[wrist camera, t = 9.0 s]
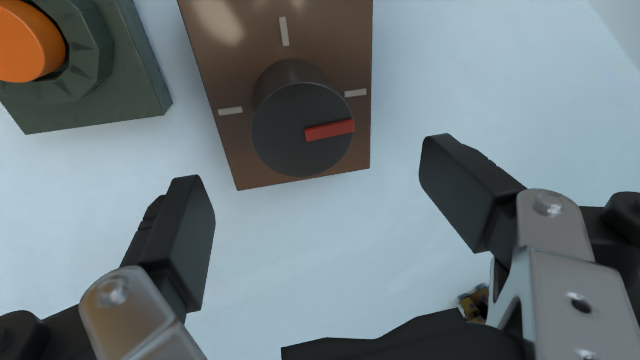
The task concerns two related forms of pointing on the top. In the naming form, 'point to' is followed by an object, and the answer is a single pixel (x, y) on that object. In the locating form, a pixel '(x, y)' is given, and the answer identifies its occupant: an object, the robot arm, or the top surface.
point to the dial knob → (299, 119)
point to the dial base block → (271, 47)
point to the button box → (91, 71)
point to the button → (27, 43)
